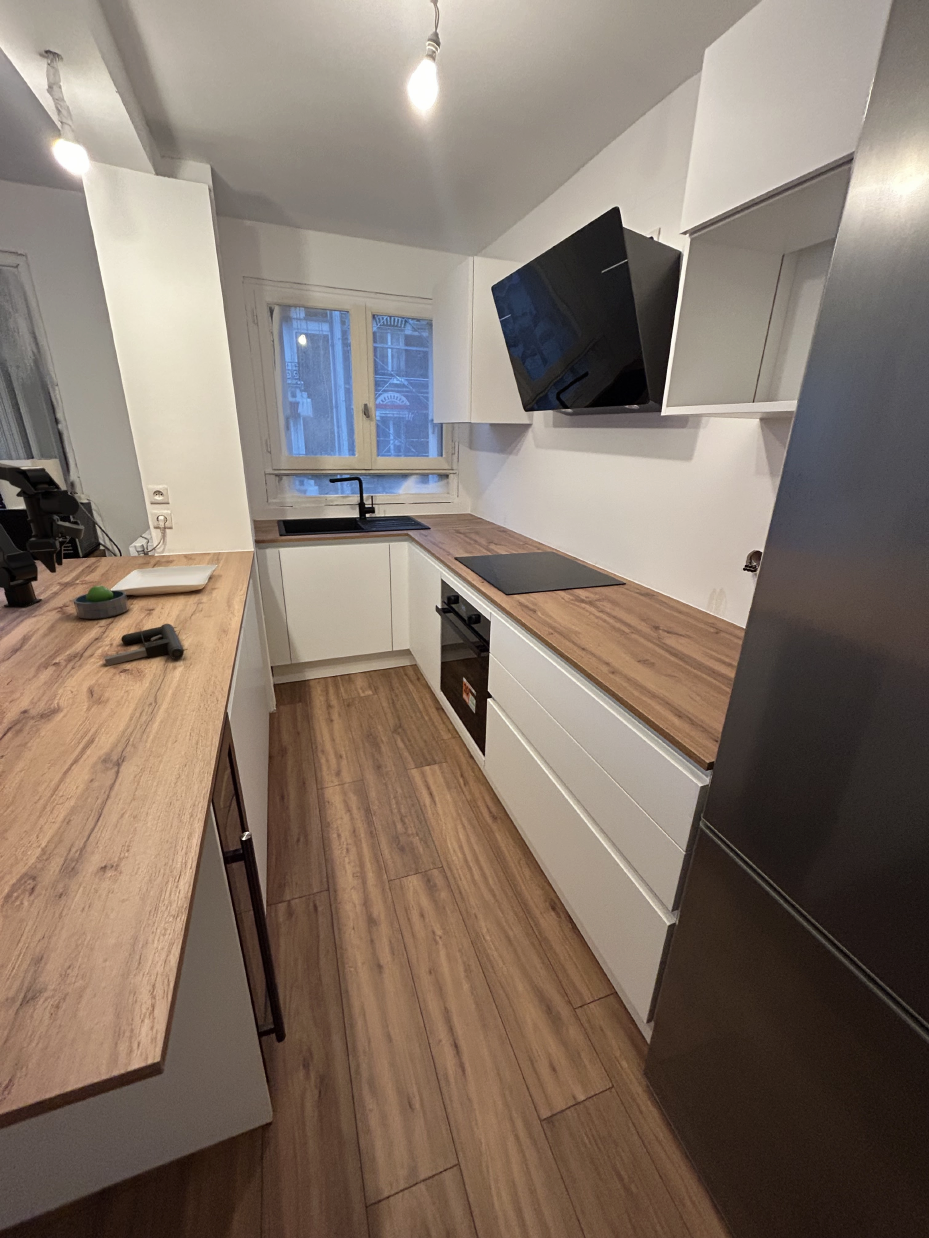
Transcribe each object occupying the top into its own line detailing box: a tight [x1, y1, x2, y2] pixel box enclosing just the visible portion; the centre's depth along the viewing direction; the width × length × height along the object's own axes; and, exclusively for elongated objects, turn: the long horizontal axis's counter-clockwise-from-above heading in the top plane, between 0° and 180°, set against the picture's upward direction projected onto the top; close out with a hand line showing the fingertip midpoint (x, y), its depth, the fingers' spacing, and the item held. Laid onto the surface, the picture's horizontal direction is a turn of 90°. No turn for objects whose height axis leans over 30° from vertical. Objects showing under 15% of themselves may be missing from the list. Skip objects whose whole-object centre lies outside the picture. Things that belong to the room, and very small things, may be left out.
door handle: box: [103, 623, 188, 667], centre depth 115 cm, size 3×20×16 cm
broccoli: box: [85, 585, 113, 603], centre depth 139 cm, size 6×5×8 cm
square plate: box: [109, 564, 218, 597], centre depth 166 cm, size 27×27×4 cm
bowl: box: [72, 590, 130, 620], centre depth 139 cm, size 12×12×5 cm
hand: (57, 568), depth 139 cm, fingers open, 9 cm apart
